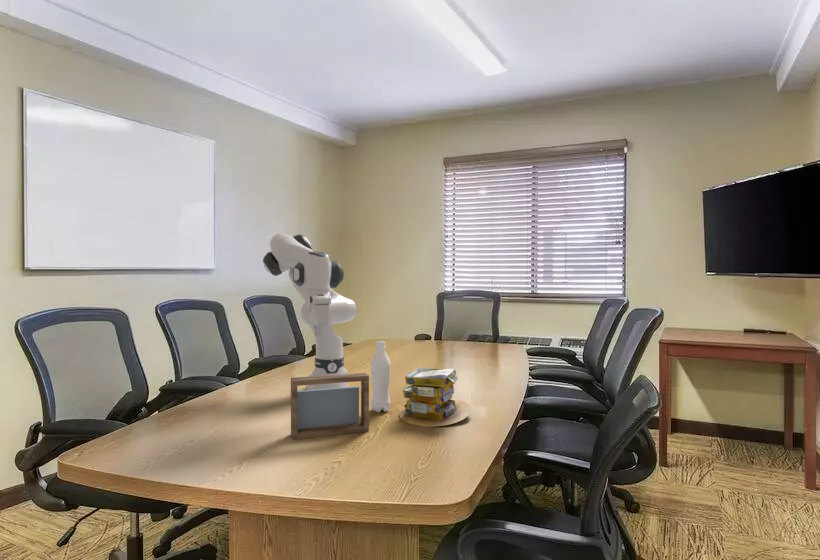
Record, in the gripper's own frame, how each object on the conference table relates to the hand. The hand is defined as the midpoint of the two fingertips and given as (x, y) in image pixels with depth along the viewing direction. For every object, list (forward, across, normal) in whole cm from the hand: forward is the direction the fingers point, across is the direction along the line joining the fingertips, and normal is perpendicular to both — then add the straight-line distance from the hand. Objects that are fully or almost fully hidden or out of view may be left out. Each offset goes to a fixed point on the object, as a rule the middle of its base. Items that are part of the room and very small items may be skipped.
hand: (317, 336), depth 177 cm
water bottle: (+27, +4, +22) cm, 35 cm away
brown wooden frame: (+27, +23, 0) cm, 35 cm away
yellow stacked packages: (+27, +17, +38) cm, 50 cm away
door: (+26, +19, 0) cm, 32 cm away
